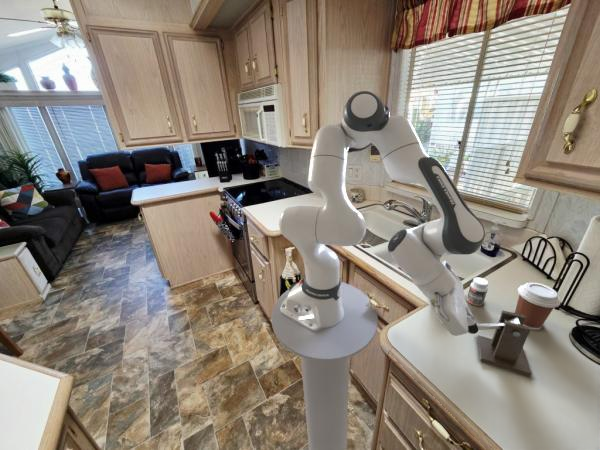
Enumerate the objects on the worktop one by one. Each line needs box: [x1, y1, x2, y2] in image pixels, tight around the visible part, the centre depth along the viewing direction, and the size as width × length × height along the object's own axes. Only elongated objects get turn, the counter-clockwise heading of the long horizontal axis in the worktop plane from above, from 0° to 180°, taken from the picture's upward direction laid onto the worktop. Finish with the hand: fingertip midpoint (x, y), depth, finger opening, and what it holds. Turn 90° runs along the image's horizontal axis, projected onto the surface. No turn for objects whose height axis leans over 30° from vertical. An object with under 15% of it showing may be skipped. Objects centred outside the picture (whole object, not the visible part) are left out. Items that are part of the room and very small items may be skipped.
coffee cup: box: [514, 281, 562, 331], centre depth 73 cm, size 9×9×12 cm
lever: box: [467, 318, 521, 335], centre depth 64 cm, size 12×3×3 cm, turn 62°
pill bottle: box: [466, 276, 489, 306], centre depth 82 cm, size 5×5×8 cm
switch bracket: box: [476, 310, 533, 377], centre depth 63 cm, size 10×8×13 cm
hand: (471, 321), depth 65 cm, fingers closed, pressing on lever
